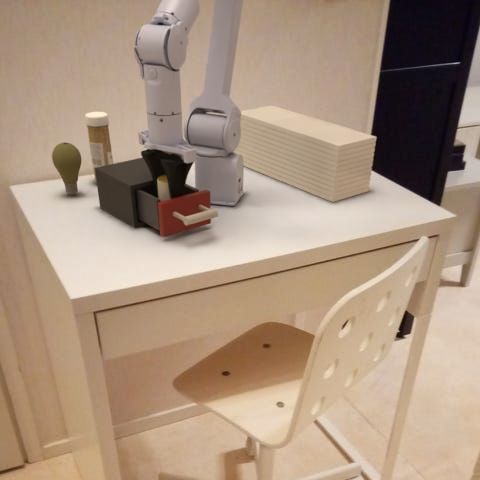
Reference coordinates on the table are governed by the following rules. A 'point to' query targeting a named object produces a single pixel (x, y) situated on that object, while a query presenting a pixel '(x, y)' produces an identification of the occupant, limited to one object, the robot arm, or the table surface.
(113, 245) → the table surface
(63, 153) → the light bulb
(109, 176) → the black drawer box
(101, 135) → the spice jar
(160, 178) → the beige cylinder
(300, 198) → the table surface
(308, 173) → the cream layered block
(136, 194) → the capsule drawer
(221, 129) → the robot arm
